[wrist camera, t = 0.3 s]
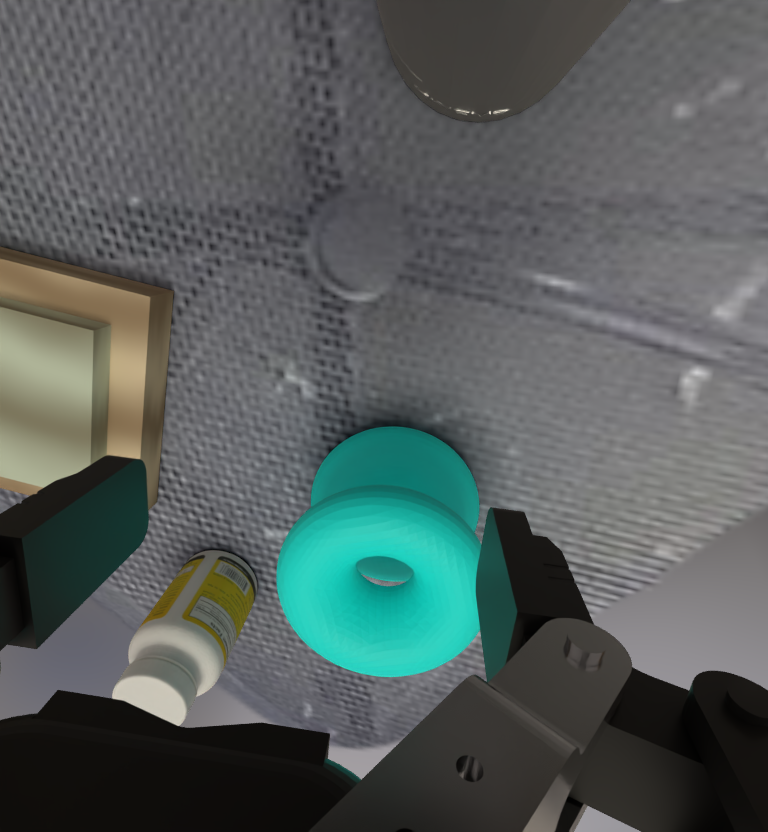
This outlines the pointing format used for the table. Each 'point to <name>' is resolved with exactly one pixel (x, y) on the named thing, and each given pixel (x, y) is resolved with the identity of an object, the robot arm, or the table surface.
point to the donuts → (385, 555)
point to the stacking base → (128, 347)
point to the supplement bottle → (188, 635)
